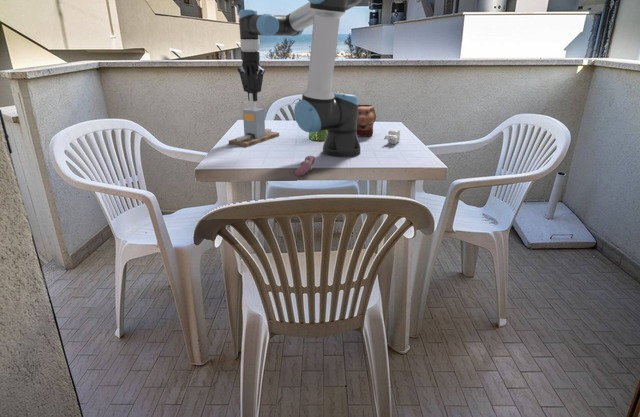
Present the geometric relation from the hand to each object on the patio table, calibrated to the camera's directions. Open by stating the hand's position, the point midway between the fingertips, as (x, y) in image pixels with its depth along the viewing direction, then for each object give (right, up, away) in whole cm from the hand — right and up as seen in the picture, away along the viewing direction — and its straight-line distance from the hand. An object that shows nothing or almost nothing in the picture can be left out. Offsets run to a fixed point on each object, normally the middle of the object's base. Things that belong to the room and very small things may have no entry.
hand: (253, 108), depth 180 cm
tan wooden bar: (0, -11, +5) cm, 12 cm away
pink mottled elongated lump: (+24, -32, -39) cm, 55 cm away
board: (0, -13, +5) cm, 14 cm away
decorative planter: (+49, -8, +17) cm, 53 cm away
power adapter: (+60, -16, 0) cm, 62 cm away
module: (0, -11, +5) cm, 12 cm away
